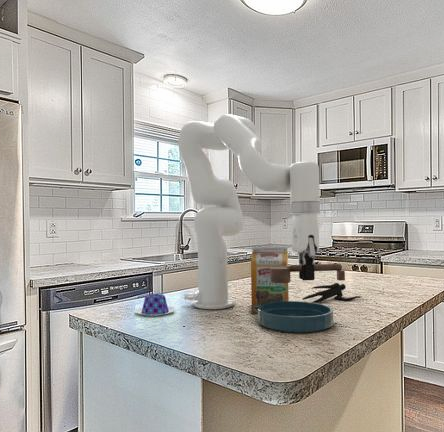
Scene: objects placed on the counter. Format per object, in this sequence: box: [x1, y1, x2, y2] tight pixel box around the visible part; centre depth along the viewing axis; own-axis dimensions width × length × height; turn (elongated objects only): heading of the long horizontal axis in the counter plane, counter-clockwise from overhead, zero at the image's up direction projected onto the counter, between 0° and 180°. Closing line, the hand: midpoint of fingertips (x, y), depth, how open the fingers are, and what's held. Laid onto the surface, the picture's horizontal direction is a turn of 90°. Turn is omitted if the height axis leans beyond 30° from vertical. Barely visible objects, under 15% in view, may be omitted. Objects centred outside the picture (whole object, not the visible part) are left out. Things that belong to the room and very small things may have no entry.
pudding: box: [134, 293, 176, 317], centre depth 124 cm, size 12×12×5 cm
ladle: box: [270, 263, 346, 284], centre depth 108 cm, size 19×5×4 cm, turn 92°
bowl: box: [257, 300, 334, 334], centre depth 109 cm, size 19×19×4 cm
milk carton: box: [250, 246, 290, 314], centre depth 126 cm, size 10×11×19 cm
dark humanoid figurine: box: [301, 282, 363, 304], centre depth 135 cm, size 8×9×25 cm
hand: (306, 279), depth 108 cm, fingers closed on ladle
